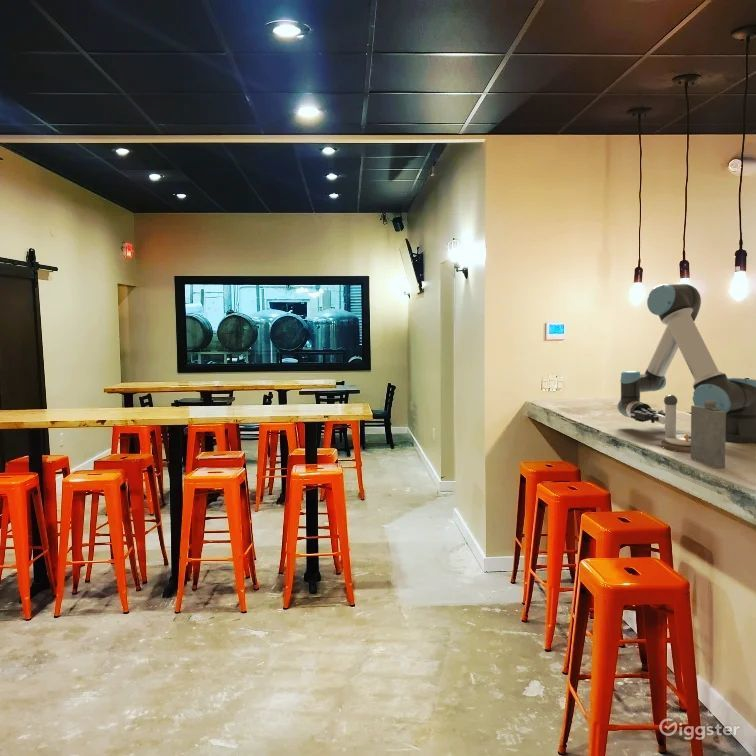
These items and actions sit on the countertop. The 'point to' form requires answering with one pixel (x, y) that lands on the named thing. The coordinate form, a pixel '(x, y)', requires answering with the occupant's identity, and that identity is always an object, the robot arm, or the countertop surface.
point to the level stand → (675, 447)
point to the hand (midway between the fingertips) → (664, 420)
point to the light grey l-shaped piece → (673, 424)
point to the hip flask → (708, 434)
